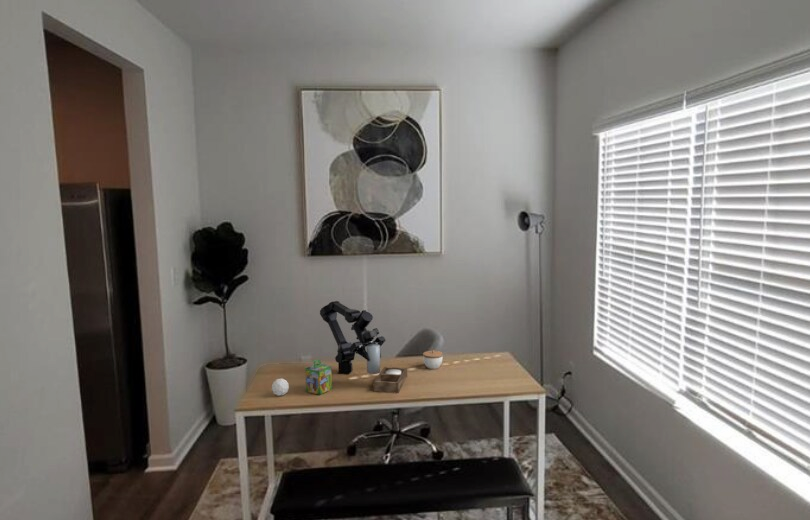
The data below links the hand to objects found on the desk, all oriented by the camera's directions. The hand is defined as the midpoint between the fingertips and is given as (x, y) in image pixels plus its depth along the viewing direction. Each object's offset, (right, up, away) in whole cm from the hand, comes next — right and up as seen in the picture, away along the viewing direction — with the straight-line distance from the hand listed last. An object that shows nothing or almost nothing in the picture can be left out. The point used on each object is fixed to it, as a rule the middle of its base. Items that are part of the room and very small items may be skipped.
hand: (375, 359), depth 231 cm
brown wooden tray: (+8, -13, +4) cm, 16 cm away
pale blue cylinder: (-1, -6, +2) cm, 7 cm away
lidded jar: (+30, -10, +28) cm, 42 cm away
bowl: (+9, -11, +9) cm, 17 cm away
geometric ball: (-44, -15, -8) cm, 47 cm away
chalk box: (-26, -14, -4) cm, 30 cm away
